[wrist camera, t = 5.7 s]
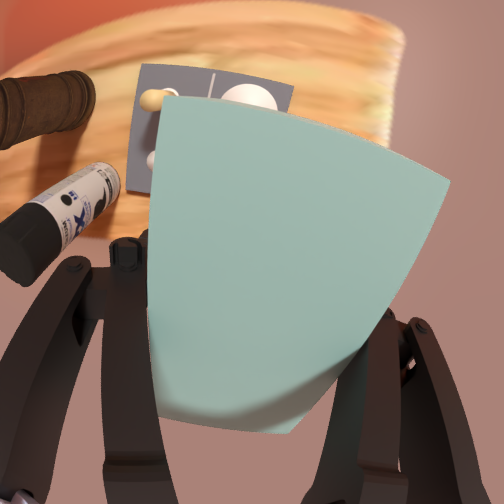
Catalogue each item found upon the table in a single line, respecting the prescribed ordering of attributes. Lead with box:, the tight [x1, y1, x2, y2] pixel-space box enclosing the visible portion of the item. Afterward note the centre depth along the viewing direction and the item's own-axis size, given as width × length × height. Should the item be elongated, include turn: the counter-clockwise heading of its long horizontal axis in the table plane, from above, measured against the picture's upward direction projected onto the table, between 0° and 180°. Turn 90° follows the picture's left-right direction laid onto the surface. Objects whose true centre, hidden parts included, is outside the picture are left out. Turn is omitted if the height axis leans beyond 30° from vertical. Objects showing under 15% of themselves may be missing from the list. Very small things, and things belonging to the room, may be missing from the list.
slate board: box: [126, 64, 294, 194], centre depth 28 cm, size 18×17×7 cm
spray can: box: [0, 162, 120, 287], centre depth 25 cm, size 7×7×20 cm
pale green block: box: [147, 95, 451, 434], centre depth 12 cm, size 7×13×9 cm, turn 167°
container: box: [0, 71, 96, 150], centre depth 19 cm, size 9×9×18 cm
